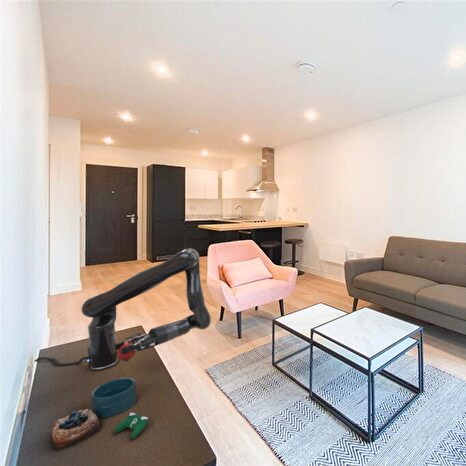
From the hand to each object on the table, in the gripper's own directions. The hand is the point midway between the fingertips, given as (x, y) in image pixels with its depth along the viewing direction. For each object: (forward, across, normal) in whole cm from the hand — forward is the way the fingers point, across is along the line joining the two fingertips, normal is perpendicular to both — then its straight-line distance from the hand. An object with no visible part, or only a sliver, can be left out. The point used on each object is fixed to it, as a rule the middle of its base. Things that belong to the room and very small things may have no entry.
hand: (118, 349), depth 114 cm
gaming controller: (+7, +28, +17) cm, 34 cm away
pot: (+5, +9, +17) cm, 20 cm away
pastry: (+17, +14, +17) cm, 28 cm away
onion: (-3, 0, +6) cm, 7 cm away
